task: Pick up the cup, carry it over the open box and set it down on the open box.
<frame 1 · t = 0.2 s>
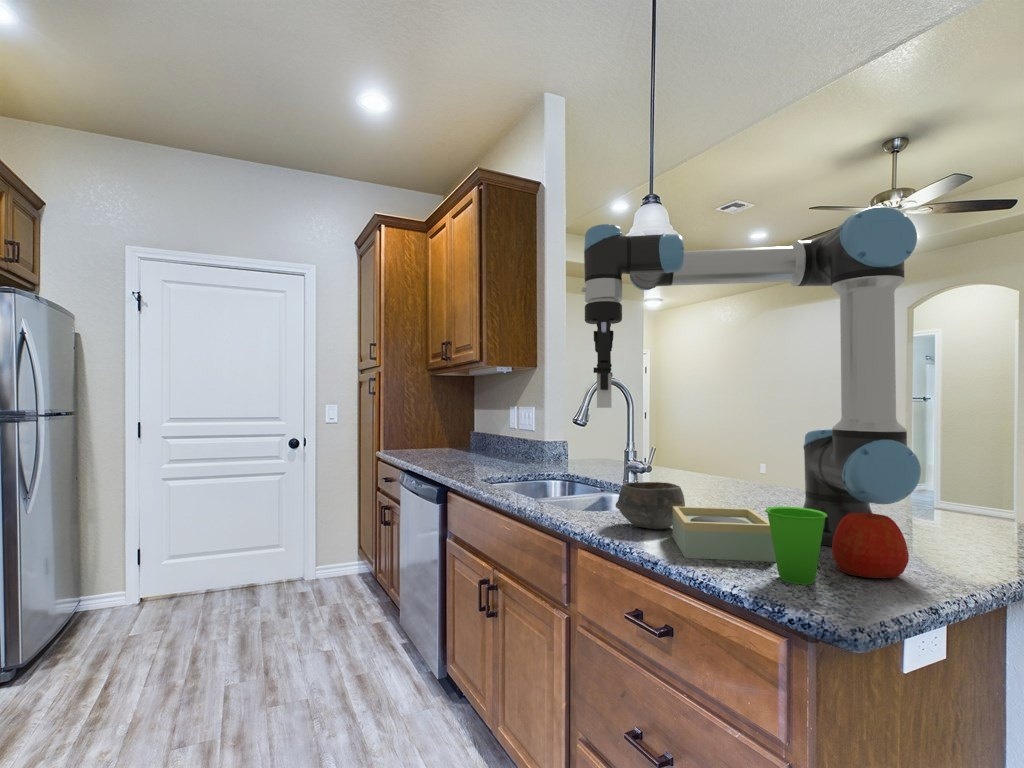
hand: (603, 407, 108), 28 cm above the worktop, fingers open, 13 cm apart
open box: (720, 548, 106), on the worktop
apple: (868, 575, 90), on the worktop
bowl: (650, 528, 124), on the worktop
cup: (796, 581, 87), on the worktop
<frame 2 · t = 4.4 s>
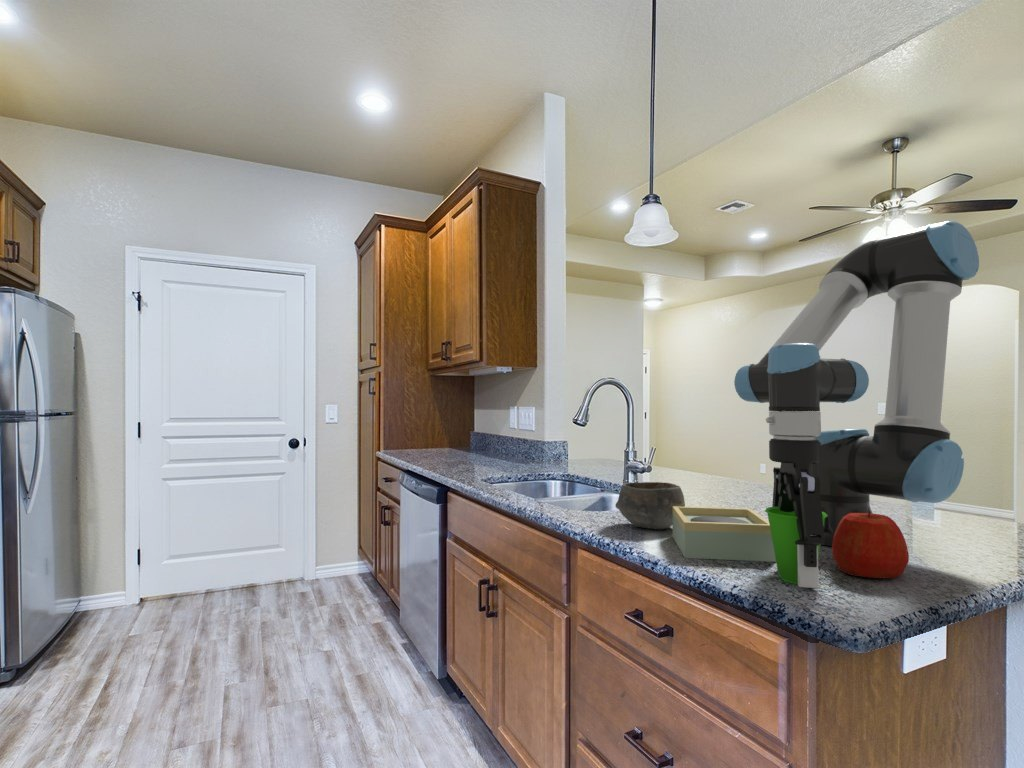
hand: (796, 576, 87), 1 cm above the worktop, fingers closed on cup, 9 cm apart
cup: (796, 581, 87), on the worktop, touching gripper
everything else where it was.
when the fingers open (8 cm above the worktop, at t = 10.5 s): cup drops 2 cm, resting on open box.
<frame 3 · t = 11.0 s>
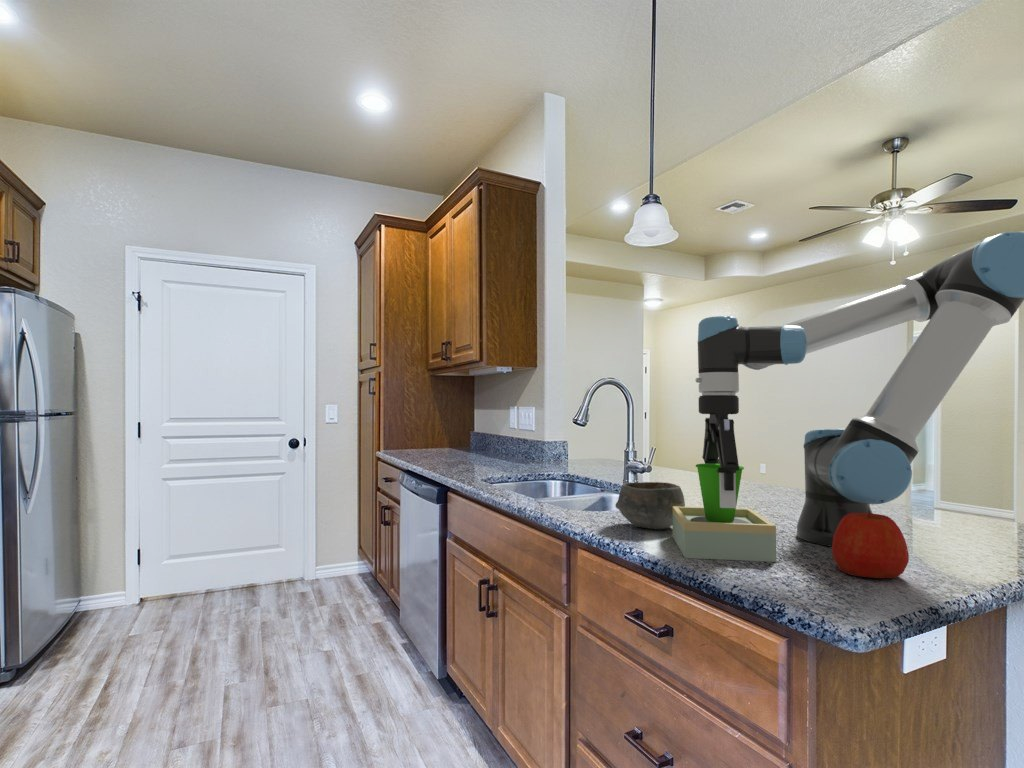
hand: (719, 501, 106), 9 cm above the worktop, fingers open, 13 cm apart
cup: (719, 522, 106), point 5 cm above the worktop, touching open box
everything else where it was.
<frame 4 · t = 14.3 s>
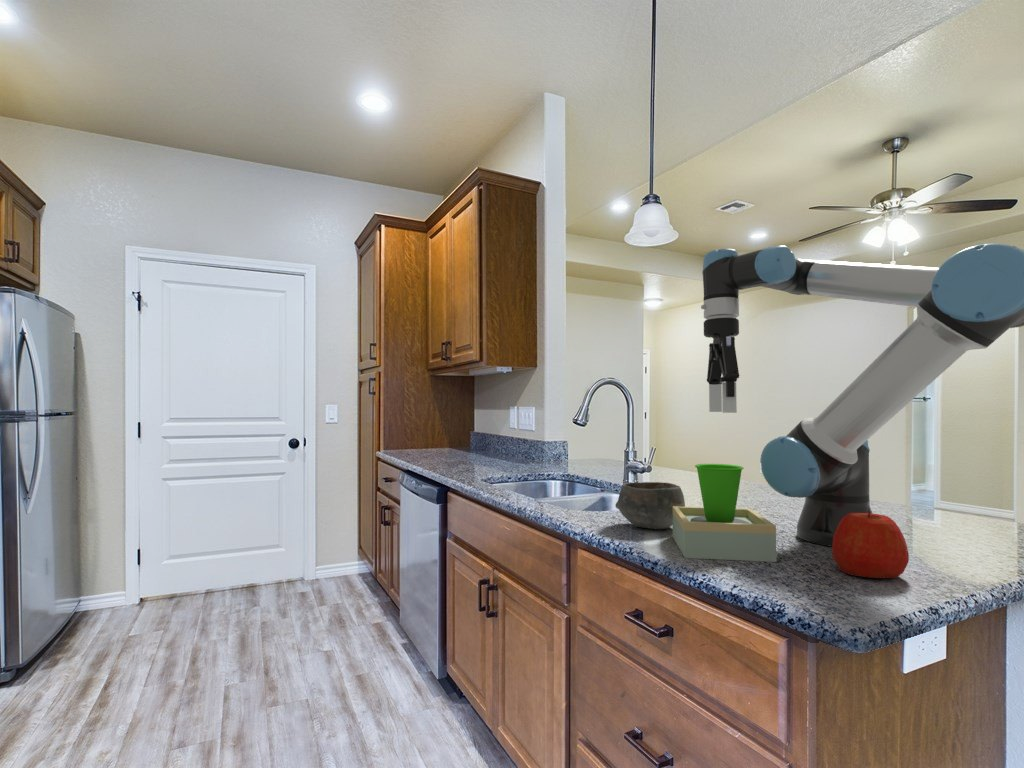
hand: (722, 412, 121), 27 cm above the worktop, fingers open, 13 cm apart
nothing on the worktop moved.
at the end: cup inside the target area on the open box (0.1 cm from its centre), point 5.0 cm above the open box's base; cup touching open box; cup tilted 0° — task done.
